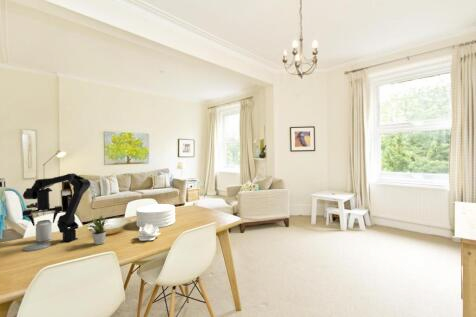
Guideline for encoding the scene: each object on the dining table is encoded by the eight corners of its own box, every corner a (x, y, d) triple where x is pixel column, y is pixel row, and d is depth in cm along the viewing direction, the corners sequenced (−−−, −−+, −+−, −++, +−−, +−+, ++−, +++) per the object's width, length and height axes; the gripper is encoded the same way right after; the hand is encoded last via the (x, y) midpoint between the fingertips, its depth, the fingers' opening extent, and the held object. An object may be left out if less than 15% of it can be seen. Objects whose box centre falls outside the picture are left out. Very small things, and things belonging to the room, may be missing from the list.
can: (42, 242, 140) (42, 222, 140) (32, 242, 142) (32, 222, 142) (54, 238, 148) (54, 219, 148) (45, 237, 149) (44, 219, 149)
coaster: (56, 243, 138) (56, 242, 138) (34, 252, 127) (34, 250, 127) (40, 242, 141) (40, 241, 141) (17, 250, 129) (17, 248, 129)
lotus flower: (139, 243, 137) (138, 229, 137) (133, 236, 149) (133, 223, 149) (163, 238, 145) (163, 224, 145) (156, 232, 157) (156, 219, 157)
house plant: (87, 240, 144) (86, 213, 144) (112, 236, 149) (112, 211, 149) (82, 248, 131) (81, 219, 131) (110, 244, 136) (110, 216, 136)
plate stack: (182, 220, 185) (182, 206, 185) (152, 230, 161) (152, 214, 161) (159, 216, 200) (158, 202, 200) (128, 224, 176) (128, 209, 176)
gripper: (62, 195, 157) (62, 219, 157) (24, 199, 146) (25, 224, 146) (62, 197, 148) (62, 222, 148) (22, 201, 137) (22, 228, 137)
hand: (43, 224), depth 145 cm, fingers open, 9 cm apart
